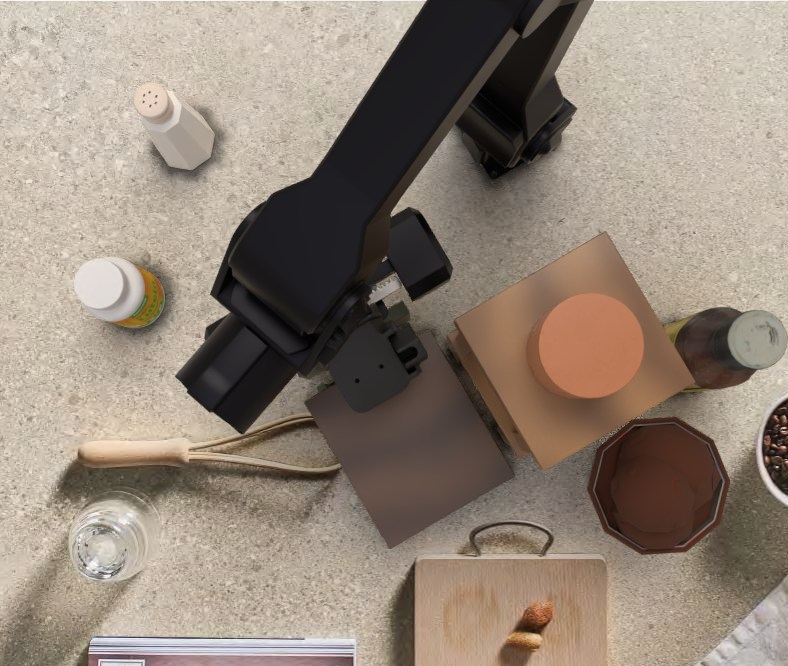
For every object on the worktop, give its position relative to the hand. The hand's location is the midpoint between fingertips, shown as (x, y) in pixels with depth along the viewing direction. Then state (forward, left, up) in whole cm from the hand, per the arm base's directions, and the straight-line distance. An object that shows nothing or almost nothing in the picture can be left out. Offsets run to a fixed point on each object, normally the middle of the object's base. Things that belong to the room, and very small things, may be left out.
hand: (338, 315), depth 74 cm
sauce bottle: (-24, +18, -4) cm, 30 cm away
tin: (-12, +12, +19) cm, 26 cm away
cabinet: (0, +12, -4) cm, 13 cm away
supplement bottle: (+15, -11, -4) cm, 19 cm away
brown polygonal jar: (-15, +25, -4) cm, 29 cm away
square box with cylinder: (-12, +12, -4) cm, 17 cm away
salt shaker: (+4, -21, -4) cm, 22 cm away
